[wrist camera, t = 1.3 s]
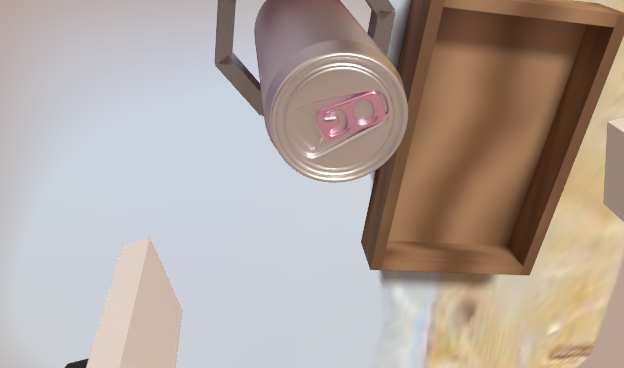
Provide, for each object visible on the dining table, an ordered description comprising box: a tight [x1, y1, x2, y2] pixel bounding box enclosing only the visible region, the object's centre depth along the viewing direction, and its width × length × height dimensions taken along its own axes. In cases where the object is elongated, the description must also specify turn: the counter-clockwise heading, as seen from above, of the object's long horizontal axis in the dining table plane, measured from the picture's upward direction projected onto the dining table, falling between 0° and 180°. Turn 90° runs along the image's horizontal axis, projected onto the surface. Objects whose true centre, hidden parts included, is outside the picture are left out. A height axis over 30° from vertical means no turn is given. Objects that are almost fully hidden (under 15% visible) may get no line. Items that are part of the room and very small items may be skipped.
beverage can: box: [255, 0, 408, 182], centre depth 29 cm, size 6×6×15 cm
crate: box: [361, 0, 624, 275], centre depth 39 cm, size 13×20×4 cm, turn 172°
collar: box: [215, 0, 395, 116], centre depth 35 cm, size 10×10×2 cm
